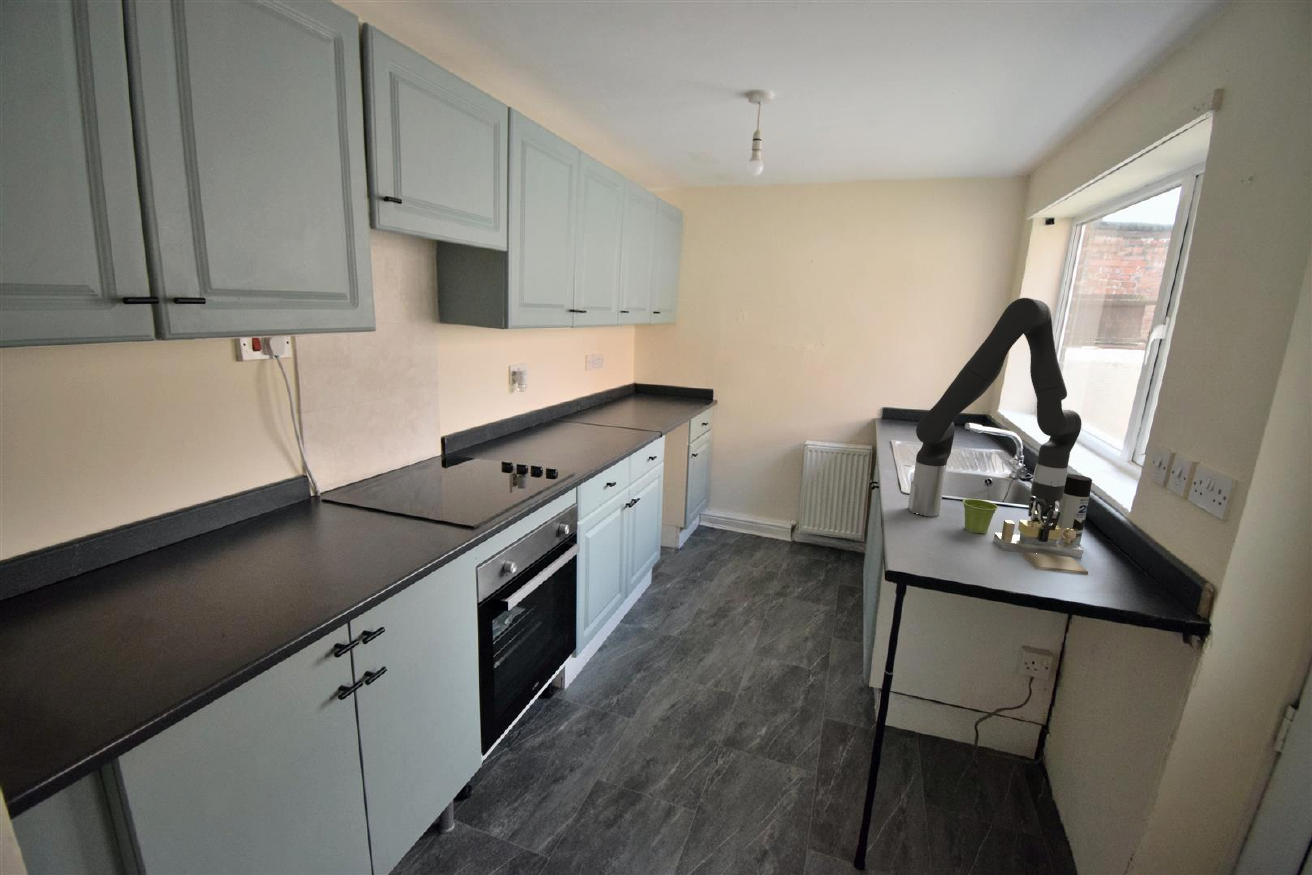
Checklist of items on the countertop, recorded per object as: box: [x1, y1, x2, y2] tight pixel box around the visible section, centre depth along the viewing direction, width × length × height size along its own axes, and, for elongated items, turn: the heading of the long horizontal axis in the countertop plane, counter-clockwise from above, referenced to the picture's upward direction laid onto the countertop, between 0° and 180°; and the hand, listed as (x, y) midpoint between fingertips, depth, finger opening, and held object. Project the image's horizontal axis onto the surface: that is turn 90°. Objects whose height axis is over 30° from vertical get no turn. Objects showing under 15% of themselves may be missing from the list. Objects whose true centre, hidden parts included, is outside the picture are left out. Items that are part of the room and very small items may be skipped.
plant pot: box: [962, 498, 999, 535], centre depth 173 cm, size 9×9×9 cm
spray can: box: [1057, 473, 1093, 546], centre depth 165 cm, size 7×7×20 cm
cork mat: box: [1022, 552, 1089, 575], centre depth 151 cm, size 12×9×1 cm
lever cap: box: [1017, 519, 1063, 540], centre depth 159 cm, size 9×5×4 cm, turn 78°
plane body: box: [992, 519, 1084, 559], centre depth 160 cm, size 20×7×8 cm, turn 78°
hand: (1038, 537), depth 160 cm, fingers closed on lever cap, 5 cm apart
